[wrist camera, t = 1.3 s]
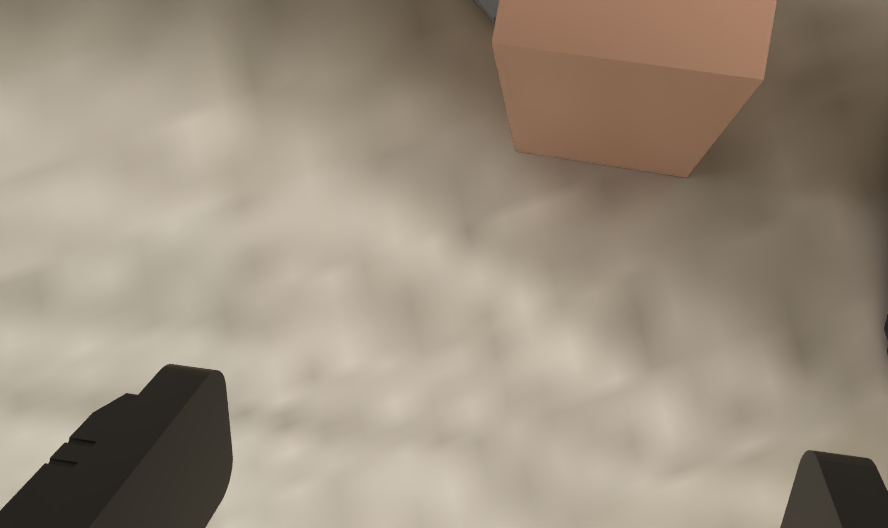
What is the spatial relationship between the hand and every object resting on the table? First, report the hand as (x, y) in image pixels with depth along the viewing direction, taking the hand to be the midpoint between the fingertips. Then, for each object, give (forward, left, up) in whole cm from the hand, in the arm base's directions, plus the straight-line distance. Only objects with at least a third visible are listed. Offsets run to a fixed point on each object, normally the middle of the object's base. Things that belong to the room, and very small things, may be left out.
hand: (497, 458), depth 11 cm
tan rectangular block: (-7, +9, -18) cm, 21 cm away
